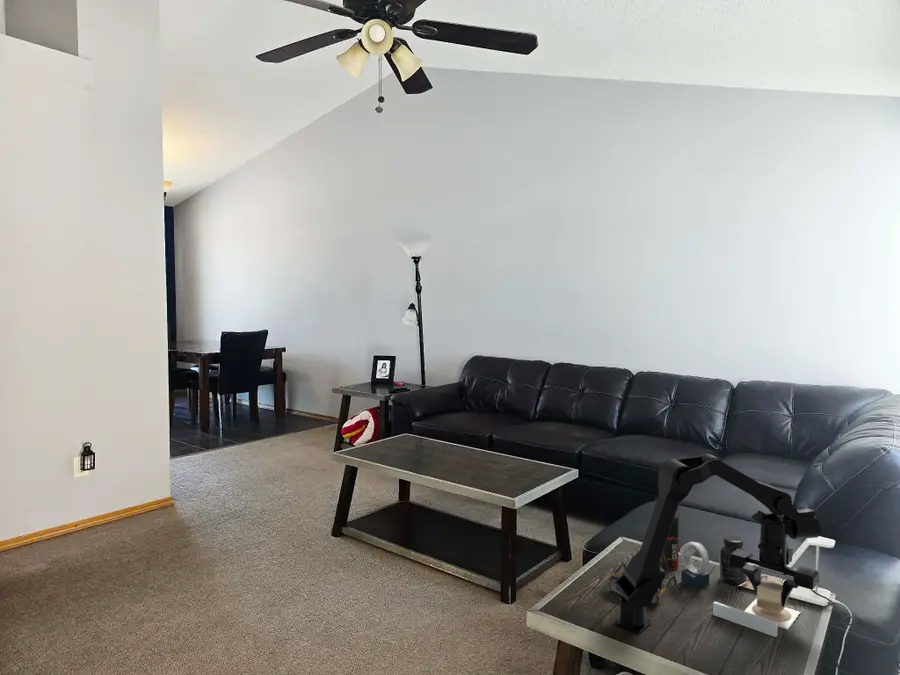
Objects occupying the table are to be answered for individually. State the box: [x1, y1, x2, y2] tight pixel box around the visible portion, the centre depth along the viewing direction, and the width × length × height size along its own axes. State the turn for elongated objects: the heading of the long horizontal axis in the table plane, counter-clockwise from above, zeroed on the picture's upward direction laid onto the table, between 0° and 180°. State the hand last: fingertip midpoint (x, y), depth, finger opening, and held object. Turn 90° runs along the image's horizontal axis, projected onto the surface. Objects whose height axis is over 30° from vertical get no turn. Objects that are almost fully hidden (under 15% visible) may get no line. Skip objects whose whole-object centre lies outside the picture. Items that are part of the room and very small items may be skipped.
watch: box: [679, 541, 710, 590], centre depth 161 cm, size 6×8×11 cm
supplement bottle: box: [718, 534, 748, 587], centre depth 162 cm, size 7×7×12 cm
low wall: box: [712, 601, 779, 638], centre depth 141 cm, size 1×14×3 cm, turn 45°
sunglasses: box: [606, 562, 677, 605], centre depth 159 cm, size 14×15×5 cm
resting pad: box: [744, 597, 802, 631], centre depth 146 cm, size 10×10×1 cm
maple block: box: [756, 579, 787, 614], centre depth 145 cm, size 5×5×5 cm
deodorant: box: [660, 513, 680, 571], centre depth 172 cm, size 6×6×15 cm
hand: (771, 602), depth 145 cm, fingers closed on maple block, 5 cm apart
